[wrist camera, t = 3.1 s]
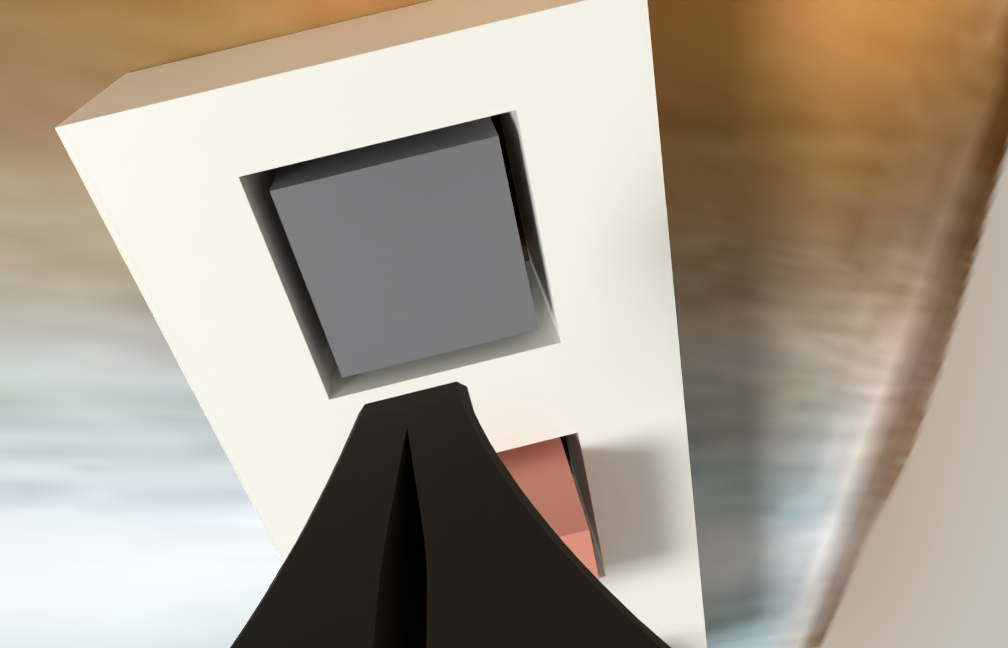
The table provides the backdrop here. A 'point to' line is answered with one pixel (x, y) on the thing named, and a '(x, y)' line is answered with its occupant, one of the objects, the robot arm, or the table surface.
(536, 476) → the middle knob
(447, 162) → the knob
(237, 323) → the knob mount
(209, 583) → the table surface
